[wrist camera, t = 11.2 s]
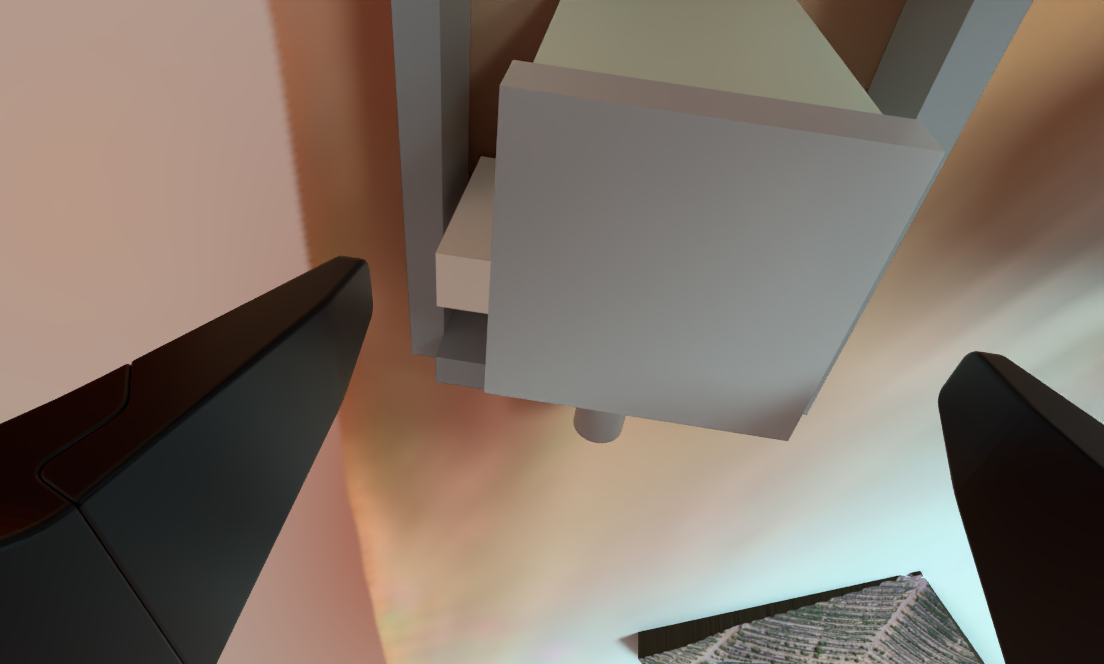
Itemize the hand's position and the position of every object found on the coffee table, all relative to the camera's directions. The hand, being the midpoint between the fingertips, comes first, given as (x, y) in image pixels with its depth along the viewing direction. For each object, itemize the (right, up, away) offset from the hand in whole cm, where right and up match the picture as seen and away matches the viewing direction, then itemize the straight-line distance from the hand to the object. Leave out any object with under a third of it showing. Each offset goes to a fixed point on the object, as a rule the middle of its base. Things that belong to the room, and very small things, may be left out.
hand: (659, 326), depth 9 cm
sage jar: (+1, +6, +7) cm, 9 cm away
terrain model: (+15, -20, +28) cm, 38 cm away
